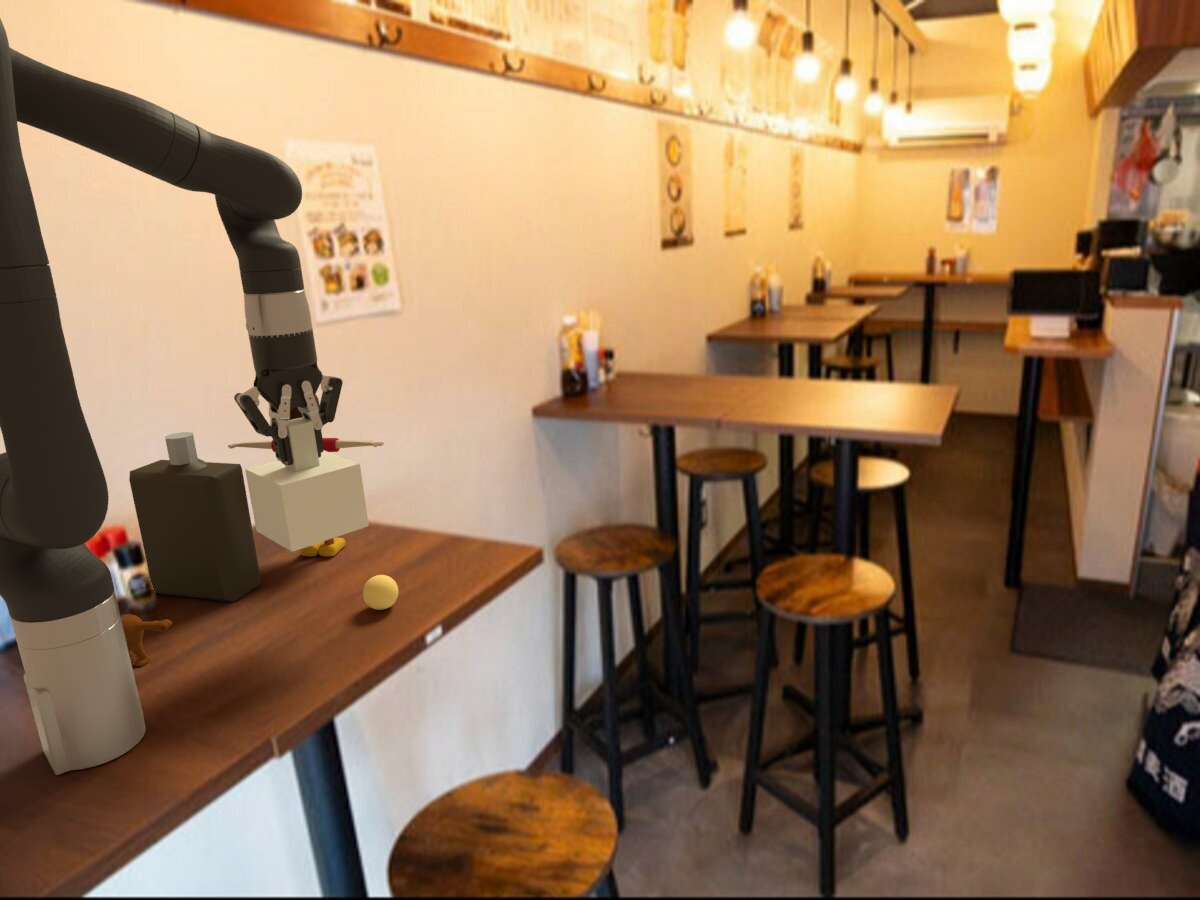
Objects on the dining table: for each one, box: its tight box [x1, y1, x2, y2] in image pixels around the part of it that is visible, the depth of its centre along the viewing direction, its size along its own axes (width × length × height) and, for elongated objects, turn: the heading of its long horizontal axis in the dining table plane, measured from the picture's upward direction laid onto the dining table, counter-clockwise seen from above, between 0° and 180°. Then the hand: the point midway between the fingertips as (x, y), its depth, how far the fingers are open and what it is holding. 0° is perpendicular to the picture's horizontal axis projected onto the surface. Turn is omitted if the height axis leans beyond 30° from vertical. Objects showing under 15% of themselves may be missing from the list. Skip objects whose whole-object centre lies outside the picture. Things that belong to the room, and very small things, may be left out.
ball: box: [362, 574, 399, 611], centre depth 116 cm, size 5×5×5 cm
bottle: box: [128, 431, 261, 603], centre depth 122 cm, size 8×16×25 cm, turn 74°
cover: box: [244, 418, 369, 553], centre depth 105 cm, size 11×11×15 cm
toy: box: [227, 394, 385, 558], centre depth 133 cm, size 27×11×30 cm, turn 84°
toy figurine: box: [120, 613, 173, 667], centre depth 103 cm, size 12×4×7 cm, turn 85°
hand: (301, 459), depth 104 cm, fingers closed on cover, 3 cm apart
